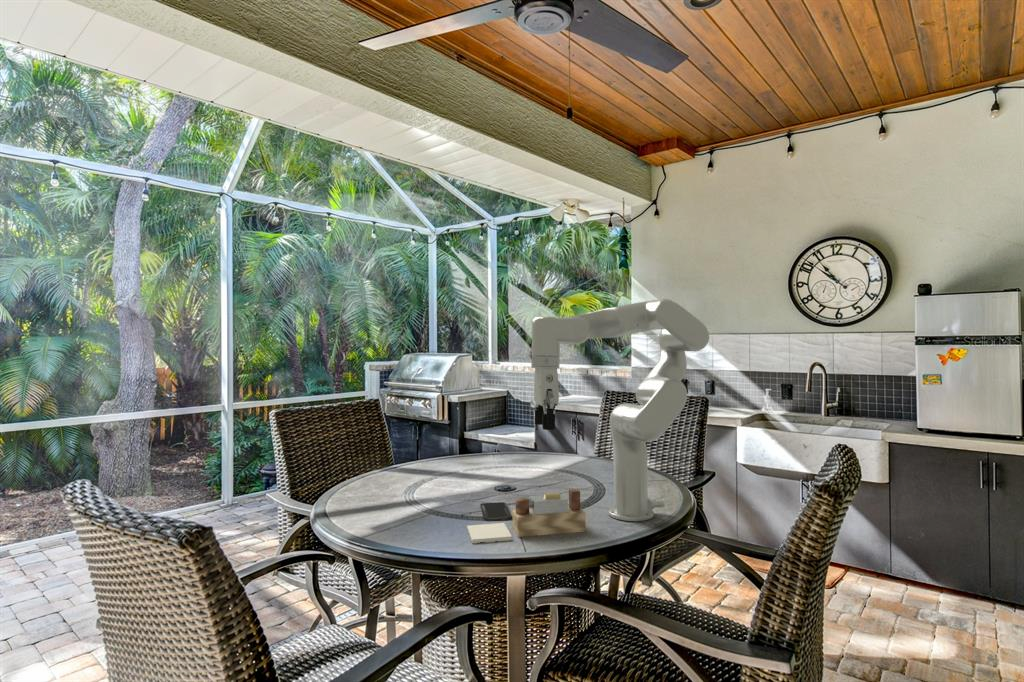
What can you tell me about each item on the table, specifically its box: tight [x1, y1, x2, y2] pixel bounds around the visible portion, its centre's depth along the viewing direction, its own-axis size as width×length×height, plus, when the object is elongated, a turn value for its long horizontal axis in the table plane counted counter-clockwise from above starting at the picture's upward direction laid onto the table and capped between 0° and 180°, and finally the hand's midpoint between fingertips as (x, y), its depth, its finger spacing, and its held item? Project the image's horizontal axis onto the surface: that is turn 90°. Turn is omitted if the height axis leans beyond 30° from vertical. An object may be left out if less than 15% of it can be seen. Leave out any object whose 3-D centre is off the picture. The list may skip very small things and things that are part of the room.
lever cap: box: [528, 491, 569, 515], centre depth 152 cm, size 9×6×4 cm, turn 101°
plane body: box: [512, 488, 587, 538], centre depth 152 cm, size 18×7×10 cm, turn 101°
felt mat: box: [466, 522, 513, 544], centre depth 149 cm, size 10×11×1 cm
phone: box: [480, 501, 513, 521], centre depth 169 cm, size 8×1×15 cm
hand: (544, 426), depth 154 cm, fingers open, 9 cm apart
